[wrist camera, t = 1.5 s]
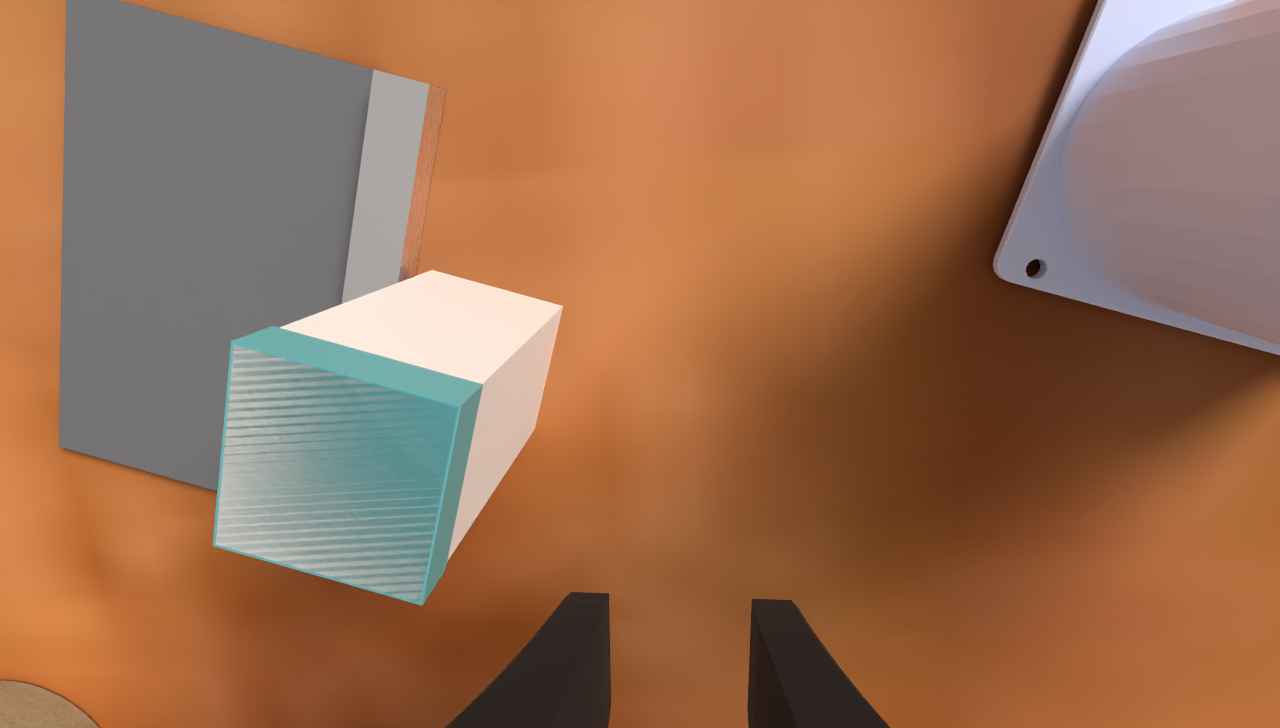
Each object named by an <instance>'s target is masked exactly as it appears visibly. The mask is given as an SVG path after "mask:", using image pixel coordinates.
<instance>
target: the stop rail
mask: <svg viewBox="0 0 1280 728" xmlns="http://www.w3.org/2000/svg"><path fill="white" fill-rule="evenodd" d="M445 93H446V89H444V88H440V87H437V86H433V85H430V84H426V83H422V82H419V81H415V80H411V79H408V78H404V77H400V76H396V75H393V74H389V73H385V72H382V71H378V70H374V69H373V77H372V84H371V91H370V99H369V106H368V113H367V121H366V128H365V135H364V143H363V150H362V157H361V165H360V172H359V179H358V187H357V194H356V201H355V209H354V216H353V223H352V231H351V238H350V245H349V253H348V260H347V267H346V275H345V282H344V289H343V297H342V304H343V303H346V302H349V301H351V300H354V299H356V298H359V297H362V296H364V295H367V294H370V293H372V292H375V291H378V290H380V289H383V288H386V287H388V286H391V285H394V284H396V283H399V282H402V281H404V280H407V279H410V278H412V277H415V274H416V268H417V262H418V256H419V250H420V244H421V238H422V232H423V226H424V220H425V214H426V208H427V202H428V196H429V190H430V184H431V178H432V172H433V166H434V160H435V154H436V148H437V142H438V136H439V130H440V124H441V117H442V111H443V105H444V99H445Z"/></svg>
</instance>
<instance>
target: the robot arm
mask: <svg viewBox="0 0 1280 728" xmlns="http://www.w3.org/2000/svg"><path fill="white" fill-rule="evenodd" d="M1034 259H1038V260H1039V262H1040V270H1039V271H1038V273H1037V274H1036V275H1034V276H1032V277H1028V276H1027V273H1026V266H1027V265H1028V264H1029V262H1030V261H1032V260H1034ZM993 268H994V272H995V273H996V274H997V276H998V277H999V278H1001V279H1003V280H1006V281H1008V282H1011V283H1015V284H1019V285H1022V286H1026V287H1030V288H1033V289H1037V290H1041V291H1044V292H1048V293H1052V294H1055V295H1059V296H1063V297H1066V298H1070V299H1074V300H1078V301H1081V302H1085V303H1089V304H1092V305H1096V306H1100V307H1103V308H1107V309H1111V310H1114V311H1118V312H1122V313H1126V314H1129V315H1133V316H1137V317H1140V318H1144V319H1148V320H1151V321H1155V322H1159V323H1162V324H1166V325H1170V326H1173V327H1177V328H1181V329H1185V330H1188V331H1192V332H1196V333H1199V334H1203V335H1207V336H1210V337H1214V338H1218V339H1221V340H1225V341H1229V342H1232V343H1236V344H1240V345H1244V346H1247V347H1251V348H1255V349H1258V350H1262V351H1266V352H1269V353H1273V354H1277V355H1280V0H1098V3H1097V5H1096V8H1095V10H1094V13H1093V15H1092V17H1091V20H1090V22H1089V25H1088V27H1087V30H1086V32H1085V35H1084V37H1083V40H1082V42H1081V45H1080V47H1079V49H1078V52H1077V54H1076V57H1075V59H1074V62H1073V64H1072V67H1071V69H1070V72H1069V74H1068V77H1067V79H1066V82H1065V84H1064V86H1063V89H1062V91H1061V94H1060V96H1059V99H1058V101H1057V104H1056V106H1055V109H1054V111H1053V114H1052V116H1051V118H1050V121H1049V123H1048V126H1047V128H1046V131H1045V133H1044V136H1043V138H1042V141H1041V143H1040V146H1039V148H1038V151H1037V153H1036V155H1035V158H1034V160H1033V163H1032V165H1031V168H1030V170H1029V173H1028V175H1027V178H1026V180H1025V183H1024V185H1023V188H1022V190H1021V192H1020V195H1019V197H1018V200H1017V202H1016V205H1015V207H1014V210H1013V212H1012V215H1011V217H1010V220H1009V222H1008V224H1007V227H1006V229H1005V232H1004V234H1003V237H1002V239H1001V242H1000V244H999V247H998V249H997V252H996V254H995V257H994V261H993ZM610 706H611V677H610V628H609V594H607V593H580V592H571V593H570V594H569V595H568V596H567V597H565V598H564V600H563V601H562V602H561V604H560V605H559V606H558V607H557V609H556V610H555V611H554V612H553V614H552V615H551V616H550V618H549V619H548V620H547V621H546V623H545V624H544V625H543V626H542V627H541V629H540V630H539V631H538V632H537V633H536V635H535V636H534V637H533V638H532V639H531V641H530V642H529V643H528V644H527V645H526V646H525V647H524V648H523V650H522V651H521V652H520V653H519V654H518V655H517V656H516V657H515V659H514V660H513V661H512V662H511V663H510V664H509V665H508V666H507V667H506V669H505V670H504V671H503V672H502V673H501V674H500V675H499V676H498V677H497V678H496V679H495V680H494V681H493V682H492V683H491V684H490V685H489V686H488V687H487V688H486V689H485V690H484V691H483V692H482V693H481V694H480V695H479V696H478V697H477V698H476V699H475V700H474V701H473V702H472V703H471V704H470V705H469V706H468V707H467V708H466V709H465V710H464V711H463V712H462V713H461V714H460V715H458V716H457V717H456V718H455V719H454V720H453V721H452V722H451V723H450V724H449V725H447V726H446V727H445V728H608V724H609V715H610ZM748 722H749V728H890V727H889V726H888V724H887V723H886V722H885V721H884V720H883V719H882V718H881V717H880V716H879V714H878V713H877V712H876V711H875V710H874V709H873V708H872V706H871V705H870V704H869V703H868V702H867V700H866V699H865V698H864V697H863V696H862V695H861V693H860V692H859V691H858V690H857V688H856V687H855V686H854V685H853V683H852V682H851V681H850V680H849V678H848V677H847V676H846V675H845V673H844V672H843V671H842V670H841V668H840V667H839V666H838V664H837V663H836V662H835V660H834V659H833V658H832V656H831V655H830V654H829V652H828V651H827V650H826V648H825V647H824V645H823V644H822V643H821V641H820V640H819V639H818V637H817V636H816V634H815V633H814V631H813V630H812V628H811V627H810V625H809V624H808V622H807V621H806V619H805V618H804V616H803V615H802V613H801V612H800V610H799V609H798V607H797V606H796V605H795V604H794V603H793V602H792V601H791V600H768V599H752V610H751V635H750V661H749V686H748Z"/></svg>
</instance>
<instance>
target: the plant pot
mask: <svg viewBox="0 0 1280 728" xmlns="http://www.w3.org/2000/svg"><path fill="white" fill-rule="evenodd" d="M0 728H99V727H98V726H97V725H96V724H95V723H94V722H93V721H92V720H91V719H90V718H89V717H88V716H87V715H86V714H85V713H84V712H83V711H81V710H80V709H79V708H78V707H76V706H75V705H74V704H72V703H71V702H69V701H67V700H66V699H64V698H62V697H61V696H59V695H57V694H55V693H52V692H50V691H48V690H46V689H44V688H41V687H38V686H35V685H32V684H28V683H23V682H16V681H5V680H3V681H0Z"/></svg>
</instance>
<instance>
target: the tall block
mask: <svg viewBox="0 0 1280 728" xmlns="http://www.w3.org/2000/svg"><path fill="white" fill-rule="evenodd" d="M562 309H563V306H561V305H557V304H553V303H550V302H546V301H543V300H539V299H535V298H532V297H528V296H524V295H521V294H517V293H514V292H510V291H506V290H503V289H499V288H495V287H492V286H488V285H484V284H481V283H477V282H474V281H470V280H466V279H463V278H459V277H455V276H452V275H448V274H444V273H441V272H437V271H434V270H431V271H428V272H426V273H423V274H420V275H418V276H415V277H412V278H410V279H407V280H404V281H402V282H399V283H396V284H394V285H391V286H388V287H386V288H383V289H380V290H378V291H375V292H372V293H370V294H367V295H364V296H362V297H359V298H356V299H354V300H351V301H349V302H346V303H343V304H341V305H338V306H335V307H333V308H330V309H327V310H325V311H322V312H319V313H317V314H314V315H311V316H309V317H306V318H303V319H301V320H298V321H295V322H293V323H290V324H287V325H285V326H282V327H275V326H271V327H269V328H266V329H263V330H260V331H258V332H255V333H252V334H249V335H247V336H244V337H241V338H239V339H236V340H233V341H231V349H230V360H229V371H228V382H227V393H226V404H225V415H224V426H223V437H222V448H221V459H220V470H219V481H218V492H217V503H216V514H215V525H214V536H213V546H215V547H218V548H222V549H226V550H229V551H233V552H236V553H240V554H243V555H247V556H250V557H254V558H257V559H261V560H264V561H268V562H271V563H275V564H278V565H282V566H285V567H289V568H292V569H296V570H299V571H303V572H306V573H310V574H313V575H317V576H320V577H324V578H327V579H331V580H334V581H338V582H341V583H345V584H348V585H352V586H355V587H359V588H362V589H366V590H369V591H373V592H376V593H380V594H383V595H387V596H390V597H394V598H398V599H401V600H405V601H408V602H412V603H415V604H419V605H423V604H424V602H425V601H426V599H427V598H428V596H429V595H430V593H431V591H432V590H433V588H434V587H435V585H436V584H437V582H438V581H439V579H440V578H441V576H442V575H443V573H444V572H445V570H446V565H447V561H448V560H449V558H450V557H451V555H452V554H453V552H454V551H455V549H456V548H457V546H458V545H459V543H460V542H461V540H462V539H463V537H464V536H465V534H466V533H467V531H468V530H469V528H470V526H471V525H472V523H473V522H474V520H475V519H476V517H477V516H478V514H479V513H480V511H481V510H482V508H483V507H484V505H485V504H486V502H487V501H488V499H489V498H490V496H491V495H492V493H493V492H494V490H495V489H496V487H497V486H498V484H499V483H500V481H501V480H502V478H503V477H504V475H505V474H506V472H507V471H508V469H509V468H510V466H511V464H512V463H513V461H514V460H515V458H516V457H517V455H518V454H519V452H520V451H521V449H522V448H523V446H524V445H525V443H526V442H527V440H528V439H529V437H530V436H531V434H532V433H533V431H534V430H535V426H536V422H537V417H538V413H539V409H540V404H541V400H542V396H543V391H544V387H545V383H546V378H547V374H548V370H549V365H550V361H551V357H552V352H553V348H554V344H555V339H556V335H557V331H558V326H559V322H560V318H561V313H562Z"/></svg>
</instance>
